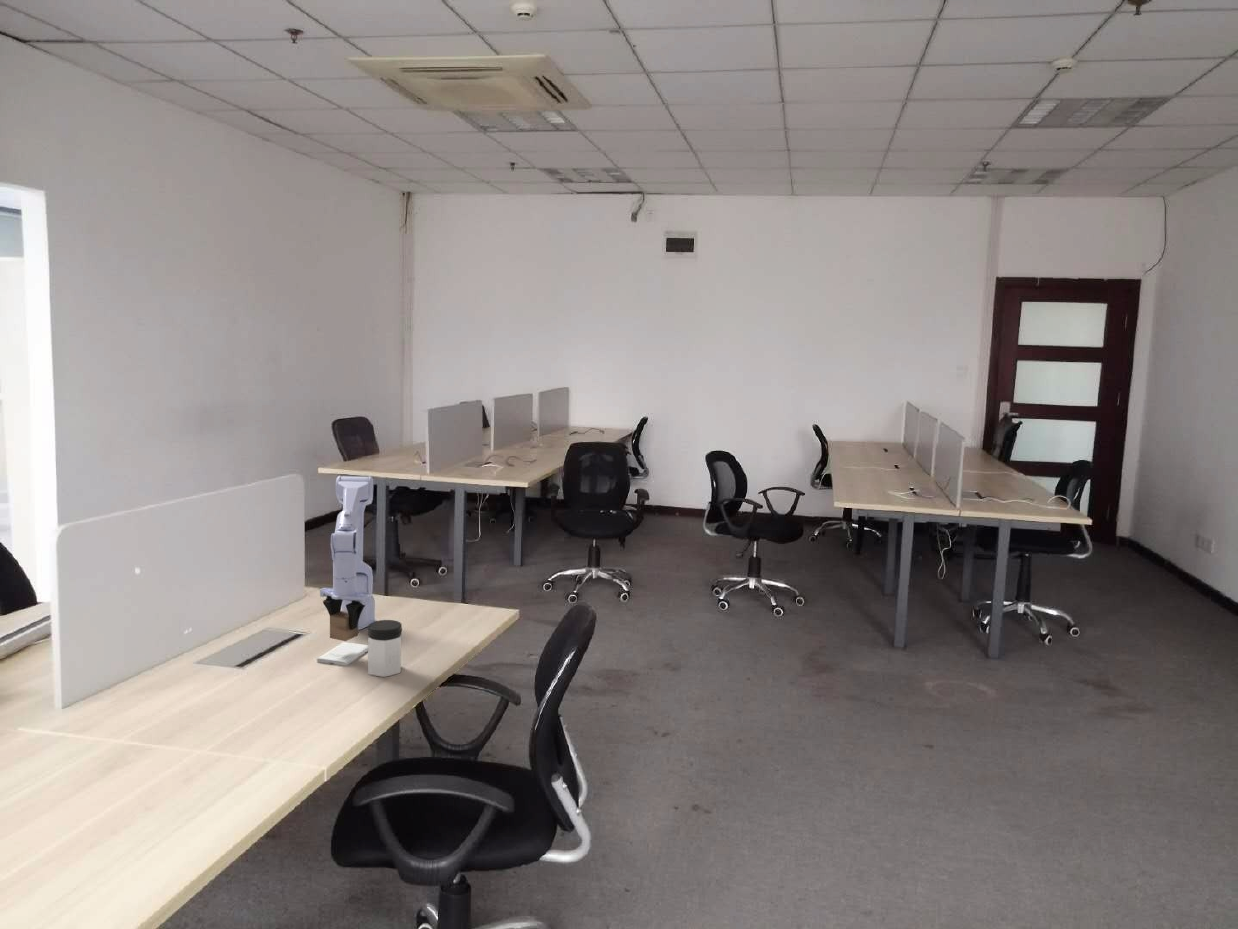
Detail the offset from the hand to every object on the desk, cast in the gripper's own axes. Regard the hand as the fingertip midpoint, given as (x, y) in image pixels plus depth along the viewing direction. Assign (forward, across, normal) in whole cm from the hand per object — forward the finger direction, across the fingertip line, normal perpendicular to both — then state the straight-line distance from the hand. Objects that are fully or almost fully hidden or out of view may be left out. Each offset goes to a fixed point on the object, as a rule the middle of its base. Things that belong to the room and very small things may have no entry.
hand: (344, 626), depth 218 cm
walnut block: (+3, 0, 0) cm, 3 cm away
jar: (+8, +15, -3) cm, 17 cm away
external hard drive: (+9, 0, 0) cm, 9 cm away
